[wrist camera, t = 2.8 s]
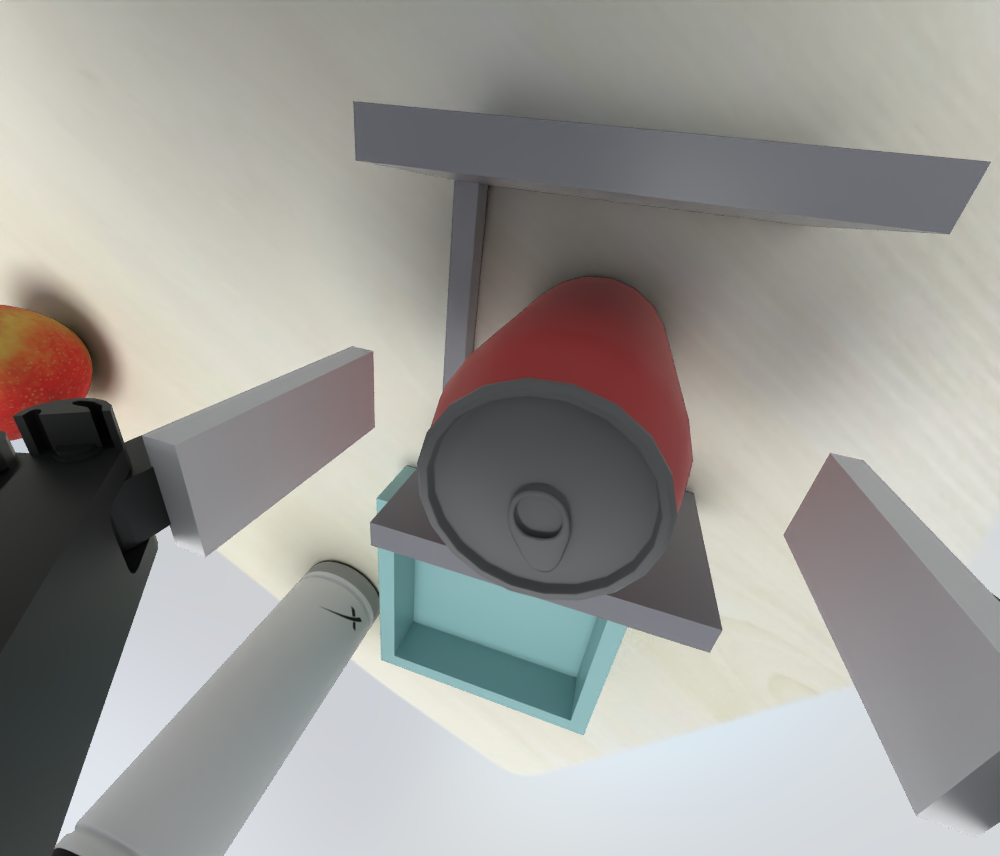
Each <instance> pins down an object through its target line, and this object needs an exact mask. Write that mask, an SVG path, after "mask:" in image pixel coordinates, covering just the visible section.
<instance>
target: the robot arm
mask: <svg viewBox="0 0 1000 856" xmlns="http://www.w3.org/2000/svg"><path fill="white" fill-rule="evenodd" d="M13 418H14V420H15V423H16V425H17V427H18V429H19V431H20V433H21V436H22V438H23V440H24V442H25V444H26V446H27V448H28V451H29V453H15V451H14V449H13V447H12V445H11V442H10V440H9V438H8V436H7V434H6V433H5V432H3V431H1V430H0V856H52V854H53V851H54V848H55V845H56V842H57V839H58V836H59V833H60V831H61V827H62V825H63V822H64V819H65V816H66V813H67V810H68V807H69V805H70V802H71V798H72V796H73V793H74V790H75V787H76V784H77V781H78V778H79V775H80V773H81V770H82V766H83V764H84V761H85V758H86V755H87V752H88V749H89V747H90V744H91V741H92V738H93V735H94V732H95V729H96V726H97V723H98V721H99V718H100V715H101V711H102V709H103V706H104V703H105V700H106V697H107V694H108V691H109V688H110V686H111V683H112V680H113V677H114V674H115V671H116V668H117V666H118V663H119V660H120V657H121V654H122V651H123V648H124V645H125V642H126V639H127V637H128V634H129V631H130V628H131V625H132V622H133V619H134V616H135V614H136V611H137V608H138V605H139V602H140V599H141V596H142V593H143V590H144V587H145V585H146V582H147V579H148V576H149V573H150V570H151V567H152V564H153V561H154V559H155V555H156V553H157V550H158V542H157V539H156V536H155V534H156V533H158V532H160V531H161V530H162V529H164V528H166V527H167V526H169V525H170V527H171V530H172V533H173V536H174V540H175V543H176V546H177V547H179V548H182V549H184V550H187V551H190V552H193V553H195V554H198V555H201V556H204V557H206V556H208V555H209V554H210V553H212V552H213V551H214V550H216V549H217V548H218V547H219V546H221V545H222V544H223V543H225V542H226V541H227V540H229V539H230V538H231V537H232V536H234V535H235V534H236V533H238V532H239V531H240V530H242V529H243V528H244V527H246V526H247V525H248V524H249V523H251V522H252V521H253V520H255V519H256V518H257V517H259V516H260V515H261V514H262V513H264V512H265V511H266V510H268V509H269V508H270V507H272V506H273V505H274V504H275V503H277V502H278V501H279V500H281V499H282V498H283V497H285V496H286V495H287V494H288V493H290V492H291V491H292V490H294V489H295V488H296V487H298V486H299V485H300V484H302V483H303V482H304V481H305V480H307V479H308V478H309V477H311V476H312V475H313V474H315V473H316V472H317V471H318V470H320V469H321V468H322V467H324V466H325V465H326V464H328V463H329V462H330V461H331V460H333V459H334V458H335V457H337V456H338V455H339V454H341V453H342V452H343V451H344V450H346V449H347V448H348V447H350V446H351V445H352V444H354V443H355V442H356V441H357V440H359V439H360V438H361V437H363V436H364V435H365V434H367V433H368V432H369V431H371V430H372V429H373V428H374V427H375V419H374V366H373V351H371V350H366V349H362V348H357V347H353V346H352V347H349V348H347V349H344V350H342V351H340V352H337V353H335V354H333V355H330V356H328V357H326V358H323V359H321V360H318V361H316V362H314V363H311V364H309V365H307V366H304V367H302V368H300V369H297V370H295V371H292V372H290V373H288V374H285V375H283V376H281V377H278V378H276V379H274V380H271V381H269V382H266V383H264V384H262V385H259V386H257V387H255V388H252V389H250V390H248V391H245V392H243V393H240V394H238V395H236V396H233V397H231V398H229V399H226V400H224V401H222V402H219V403H217V404H214V405H212V406H210V407H207V408H205V409H203V410H200V411H198V412H196V413H193V414H191V415H189V416H186V417H184V418H181V419H179V420H177V421H174V422H172V423H170V424H167V425H165V426H163V427H160V428H158V429H155V430H153V431H151V432H148V433H146V434H144V435H141V436H139V437H137V438H134V439H132V440H129V441H127V442H125V443H124V441H123V438H122V435H121V432H120V429H119V426H118V423H117V420H116V417H115V414H114V411H113V408H112V405H111V404H109V403H108V402H106V401H104V400H99V399H94V398H73V399H64V400H56V401H52V402H47V403H42V404H38V405H35V406H33V407H30V408H27V409H24V410H22V411H20V412H19V413H17V414H15V415H14V416H13ZM784 537H785V539H786V541H787V543H788V545H789V547H790V550H791V552H792V554H793V556H794V558H795V560H796V562H797V564H798V567H799V569H800V571H801V573H802V575H803V577H804V579H805V581H806V583H807V586H808V588H809V590H810V592H811V594H812V596H813V598H814V600H815V603H816V605H817V607H818V609H819V611H820V613H821V615H822V617H823V619H824V622H825V624H826V626H827V628H828V630H829V632H830V634H831V636H832V639H833V641H834V643H835V645H836V647H837V649H838V651H839V653H840V655H841V658H842V660H843V662H844V664H845V666H846V668H847V670H848V672H849V675H850V677H851V679H852V681H853V683H854V685H855V687H856V689H857V691H858V693H859V696H860V698H861V700H862V702H863V704H864V706H865V708H866V710H867V713H868V715H869V717H870V719H871V721H872V723H873V725H874V727H875V730H876V732H877V734H878V736H879V738H880V740H881V742H882V744H883V746H884V748H885V751H886V753H887V755H888V757H889V759H890V761H891V763H892V766H893V768H894V770H895V772H896V774H897V776H898V778H899V780H900V782H901V784H902V786H903V789H904V791H905V793H906V795H907V797H908V799H909V802H910V804H911V806H912V808H913V810H914V812H915V814H916V816H918V817H921V818H924V819H927V820H929V821H932V822H935V823H937V824H940V825H943V826H946V827H948V828H951V829H954V830H956V831H959V832H962V833H965V834H967V835H970V836H973V837H978V836H979V835H981V834H982V833H984V832H985V831H987V830H988V829H990V828H991V827H993V826H994V825H996V824H997V823H999V822H1000V599H999V598H997V597H996V596H995V595H993V594H992V593H991V592H990V591H989V590H988V589H987V588H986V587H985V586H984V585H983V584H982V583H981V582H980V581H979V580H978V579H977V578H976V577H975V576H974V575H973V574H972V573H971V572H970V571H969V569H968V568H967V567H966V566H965V565H964V564H963V563H962V562H961V561H960V560H959V559H958V558H957V557H956V556H955V555H954V554H953V553H952V552H951V551H950V550H949V549H948V548H947V547H946V546H945V545H944V544H943V542H942V541H941V540H940V539H939V538H938V537H937V536H936V535H935V534H934V533H933V532H932V531H931V530H930V529H929V528H928V527H927V526H926V525H925V524H924V523H923V522H922V521H921V520H920V519H919V518H918V516H917V515H916V514H915V513H914V512H913V511H912V510H911V509H910V508H909V507H908V506H907V505H906V504H905V503H904V502H903V501H902V500H901V499H900V498H899V497H898V496H897V495H896V494H895V493H894V492H893V491H892V489H891V488H890V487H889V486H888V485H887V484H886V483H885V482H884V481H883V480H882V479H881V478H880V477H879V476H878V475H877V474H876V473H875V472H874V471H873V470H872V469H871V468H870V467H869V466H868V465H867V464H866V462H865V461H863V460H859V459H854V458H850V457H845V456H841V455H836V454H832V453H830V454H829V456H828V458H827V459H826V461H825V463H824V465H823V467H822V468H821V470H820V472H819V474H818V475H817V477H816V479H815V481H814V482H813V484H812V486H811V488H810V489H809V491H808V493H807V495H806V496H805V498H804V500H803V502H802V503H801V505H800V507H799V509H798V510H797V512H796V514H795V516H794V518H793V519H792V521H791V523H790V525H789V526H788V528H787V530H786V532H785V533H784Z"/></svg>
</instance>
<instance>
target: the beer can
mask: <svg viewBox="0 0 1000 856" xmlns="http://www.w3.org/2000/svg"><path fill="white" fill-rule="evenodd" d="M692 462H693V456H692V446H691V436H690V426H689V419H688V415H687V411H686V407H685V404H684V400H683V396H682V392H681V388H680V384H679V381H678V377H677V373H676V369H675V365H674V361H673V358H672V354H671V350H670V346H669V342H668V339H667V335H666V331H665V328H664V326H663V324H662V322H661V320H660V318H659V316H658V314H657V312H656V310H655V308H654V306H653V305H652V304H651V303H650V302H649V301H648V300H647V299H646V298H644V297H643V296H642V295H641V294H640V293H639V292H638V291H637V290H636V289H634V288H632V287H630V286H628V285H625V284H623V283H621V282H619V281H616V280H614V279H612V278H599V277H587V276H586V277H582V278H578V279H574V280H570V281H566V282H562V283H560V284H558V285H557V286H555V287H554V288H552V289H550V290H549V291H547V292H546V293H544V294H542V295H541V296H540V297H538V298H537V299H536V300H535V301H534V302H532V303H531V304H530V305H529V306H528V307H526V308H525V309H524V310H523V311H522V312H520V313H519V314H518V315H517V316H516V317H515V318H513V319H512V320H511V321H510V322H509V323H507V324H506V325H505V326H504V327H503V328H501V329H500V330H499V331H498V332H497V333H495V334H494V335H493V336H492V337H491V338H489V339H488V340H487V341H486V342H485V343H483V344H482V345H481V346H480V347H479V348H478V349H476V350H475V351H474V352H473V353H472V354H470V355H469V356H468V357H467V359H466V360H465V361H464V362H463V364H462V365H461V366H460V368H459V369H458V370H457V371H456V373H455V374H454V375H453V376H452V378H451V379H450V380H449V381H448V383H447V384H446V386H445V388H444V390H443V393H442V395H441V397H440V400H439V403H438V406H437V409H436V412H435V416H434V419H433V422H432V425H431V428H430V429H429V430H428V432H427V434H426V437H425V440H424V443H423V446H422V449H421V453H420V456H419V459H418V462H417V468H418V485H419V496H420V498H421V501H422V504H423V506H424V509H425V511H426V514H427V516H428V519H429V521H430V524H431V526H432V527H433V529H434V530H435V531H436V533H437V534H438V535H439V537H440V538H441V539H442V541H443V542H444V543H445V545H446V546H447V547H448V548H449V550H450V551H451V552H452V553H453V554H454V555H455V556H456V557H457V558H459V559H460V560H461V561H462V562H464V563H465V564H466V565H467V566H468V567H470V568H471V569H472V570H473V571H474V572H476V573H477V574H478V575H480V576H482V577H484V578H486V579H488V580H490V581H492V582H494V583H495V584H497V585H499V586H501V587H503V588H505V589H507V590H509V591H513V592H517V593H520V594H524V595H528V596H532V597H536V598H540V599H544V600H585V599H589V598H593V597H598V596H602V595H607V594H611V593H615V592H617V591H619V590H621V589H622V588H624V587H626V586H627V585H629V584H631V583H633V582H634V581H636V580H638V579H640V578H641V577H643V576H645V575H646V574H647V573H648V571H649V570H650V569H651V568H652V567H653V565H654V564H655V563H656V562H657V561H658V559H659V558H660V557H661V556H662V555H663V553H664V552H665V551H666V550H667V548H668V545H669V542H670V538H671V535H672V532H673V528H674V525H675V521H676V518H677V513H678V512H679V509H680V505H681V502H682V499H683V495H684V492H685V489H686V485H687V482H688V478H689V475H690V471H691V467H692Z"/></svg>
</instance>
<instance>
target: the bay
mask: <svg viewBox="0 0 1000 856" xmlns="http://www.w3.org/2000/svg"><path fill="white" fill-rule="evenodd" d="M353 104H354V129H355V154H356V160H357V161H362V162H367V163H372V164H377V165H382V166H387V167H392V168H397V169H402V170H407V171H412V172H417V173H422V174H427V175H432V176H437V177H442V178H447V179H452V180H455V182H454V200H453V218H452V235H451V253H450V271H449V288H448V306H447V323H446V341H445V359H444V376H443V390H444V388H445V386H446V384H447V383H448V381H449V380H450V379H451V378H452V376H453V375H454V374H455V373H456V371H457V370H458V369H459V368H460V366H461V365H462V364H463V362H464V361H465V360H466V359H467V357H468V356H469V355H470V354H472V353H473V346H474V335H475V324H476V313H477V302H478V291H479V280H480V269H481V258H482V246H483V235H484V224H485V213H486V202H487V191H488V185H492V186H499V187H507V188H515V189H523V190H531V191H538V192H546V193H554V194H562V195H570V196H577V197H585V198H593V199H601V200H608V201H616V202H624V203H632V204H640V205H647V206H655V207H663V208H671V209H678V210H686V211H694V212H702V213H710V214H717V215H725V216H733V217H741V218H748V219H756V220H764V221H772V222H780V223H787V224H795V225H803V226H816V227H834V228H851V229H868V230H886V231H903V232H920V233H938V234H950V232H951V231H952V229H953V227H954V226H955V224H956V222H957V220H958V219H959V217H960V215H961V213H962V212H963V210H964V208H965V206H966V205H967V203H968V201H969V199H970V198H971V196H972V194H973V192H974V191H975V189H976V187H977V185H978V184H979V182H980V180H981V178H982V177H983V175H984V173H985V171H986V170H987V168H988V166H989V164H990V163H991V162H987V161H977V160H966V159H955V158H945V157H934V156H924V155H913V154H903V153H892V152H882V151H871V150H861V149H850V148H839V147H829V146H818V145H808V144H797V143H787V142H776V141H766V140H755V139H745V138H734V137H723V136H713V135H702V134H692V133H681V132H671V131H660V130H650V129H639V128H628V127H618V126H607V125H597V124H586V123H576V122H565V121H555V120H544V119H534V118H523V117H512V116H502V115H491V114H481V113H470V112H460V111H449V110H439V109H428V108H418V107H407V106H396V105H386V104H375V103H365V102H354V101H353ZM370 532H371V545H372V546H375V547H378V548H381V549H385V550H388V551H391V552H394V553H397V554H400V555H403V556H407V557H410V558H413V559H416V560H419V561H422V562H425V563H429V564H432V565H435V566H438V567H441V568H444V569H448V570H451V571H454V572H457V573H460V574H463V575H466V576H470V577H473V578H476V579H479V580H482V581H485V582H488V583H492V584H495V583H494V582H492V581H490V580H488V579H486V578H484V577H482V576H480V575H478V574H477V573H476V572H474V571H473V570H472V569H471V568H470V567H468V566H467V565H466V564H465V563H464V562H462V561H461V560H460V559H459V558H457V557H456V556H455V555H454V554H453V553H452V552H451V551H450V550H449V548H448V547H447V546H446V545H445V543H444V542H443V541H442V539H441V538H440V537H439V535H438V534H437V533H436V531H435V530H434V529H433V527H432V526H431V524H430V521H429V519H428V516H427V514H426V511H425V509H424V506H423V504H422V501H421V498H420V496H419V485H418V468H417V469H416V470H415V471H414V472H413V473H412V475H411V476H410V477H409V478H408V479H407V480H406V482H405V483H404V484H403V485H402V486H401V487H400V488H399V490H398V491H397V492H396V493H395V494H394V495H393V497H392V498H391V499H390V500H389V501H388V502H387V503H386V505H385V506H384V507H383V508H382V509H381V510H380V512H379V513H378V514H377V515H376V516H375V517H374V519H373V520H372V521H371V522H370ZM495 585H497V584H495ZM498 586H499V585H498ZM539 599H540V598H539ZM542 600H544V599H542ZM545 601H548V602H551V603H555V604H558V605H561V606H564V607H567V608H570V609H574V610H577V611H580V612H583V613H586V614H589V615H592V616H596V617H599V618H602V619H605V620H608V621H611V622H614V623H618V624H621V625H624V626H627V627H630V628H633V629H637V630H640V631H643V632H646V633H649V634H652V635H655V636H659V637H662V638H665V639H668V640H671V641H674V642H677V643H681V644H684V645H687V646H690V647H693V648H696V649H700V650H703V651H706V652H709V653H710V651H711V649H712V647H713V646H714V644H715V642H716V641H717V639H718V637H719V635H720V634H721V632H722V626H721V621H720V617H719V612H718V607H717V602H716V598H715V593H714V588H713V583H712V579H711V574H710V569H709V564H708V560H707V555H706V550H705V545H704V541H703V536H702V531H701V526H700V522H699V517H698V512H697V507H696V503H695V498H694V493H690V492H686V491H685V492H684V495H683V499H682V502H681V505H680V509H679V512H678V513H677V518H676V521H675V525H674V528H673V532H672V535H671V538H670V542H669V545H668V548H667V550H666V551H665V552H664V553H663V555H662V556H661V557H660V558H659V559H658V561H657V562H656V563H655V564H654V565H653V567H652V568H651V569H650V570H649V571H648V573H647V574H646V575H645V576H643V577H641V578H640V579H638V580H636V581H634V582H633V583H631V584H629V585H627V586H626V587H624V588H622V589H621V590H619V591H617V592H615V593H611V594H607V595H602V596H598V597H593V598H589V599H585V600H545Z"/></svg>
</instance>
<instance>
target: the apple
mask: <svg viewBox="0 0 1000 856" xmlns="http://www.w3.org/2000/svg"><path fill="white" fill-rule="evenodd" d="M92 370H93V369H92V361H91V357H90V354H89V352H88V350H87V348H86V346H85V345H84V343H83V342H82V341H81V339H80V338H79V337H78V336H77V335H76V334H75V333H74V332H72V331H71V330H70V329H69V328H67V327H66V326H64V325H63V324H61V323H59V322H58V321H56V320H54V319H52V318H50V317H47V316H45V315H42V314H39V313H36V312H33V311H30V310H26V309H22V308H17V307H13V306H7V305H0V430H1V431H3V432H5V433H6V434H7V436H8V438H9V440H16V439H20V438H22V436H21V433H20V431H19V429H18V427H17V425H16V423H15V420H14V418H13V416H14V415H15V414H17V413H19V412H20V411H22V410H24V409H27V408H30V407H33V406H35V405H38V404H42V403H47V402H52V401H56V400H64V399H73V398H85V397H86V395H87V393H88V390H89V387H90V384H91V380H92Z"/></svg>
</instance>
